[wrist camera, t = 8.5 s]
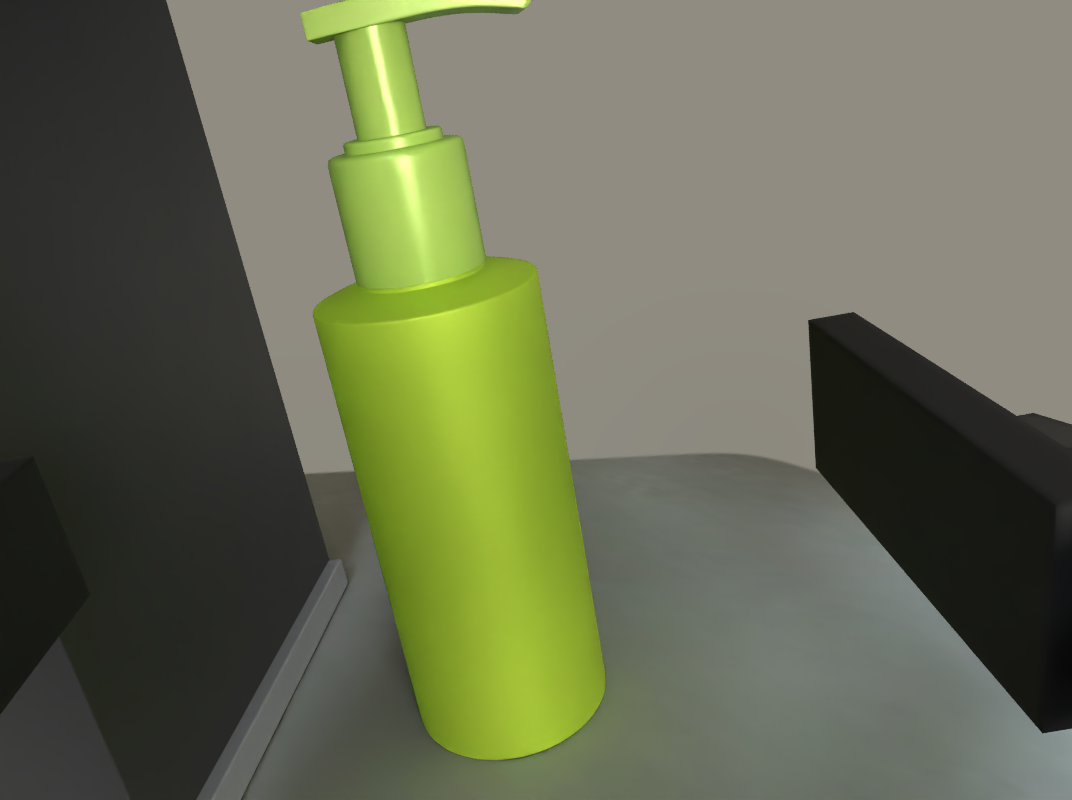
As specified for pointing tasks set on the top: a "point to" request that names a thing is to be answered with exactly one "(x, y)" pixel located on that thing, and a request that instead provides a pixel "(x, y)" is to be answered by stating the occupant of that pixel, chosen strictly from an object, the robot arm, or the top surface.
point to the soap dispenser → (452, 415)
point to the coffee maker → (143, 424)
